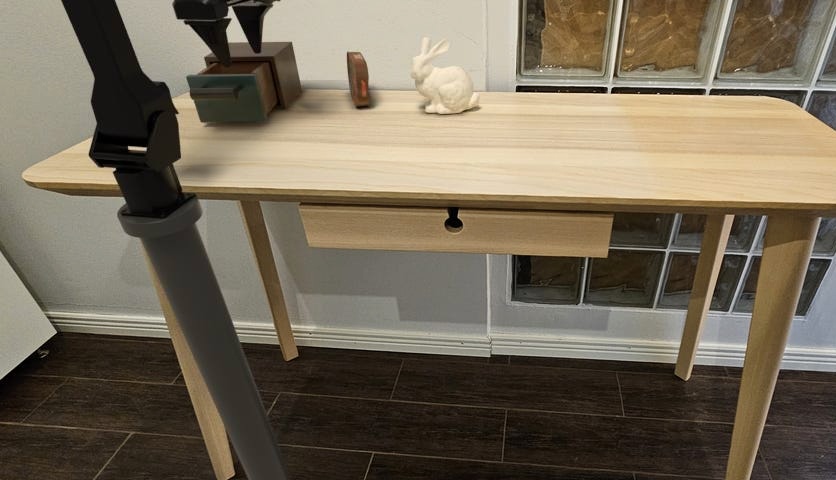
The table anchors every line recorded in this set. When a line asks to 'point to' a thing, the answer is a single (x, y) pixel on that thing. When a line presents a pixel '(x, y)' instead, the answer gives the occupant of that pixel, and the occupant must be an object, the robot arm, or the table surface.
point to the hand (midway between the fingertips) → (243, 59)
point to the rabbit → (442, 81)
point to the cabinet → (280, 63)
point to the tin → (358, 78)
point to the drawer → (234, 92)
